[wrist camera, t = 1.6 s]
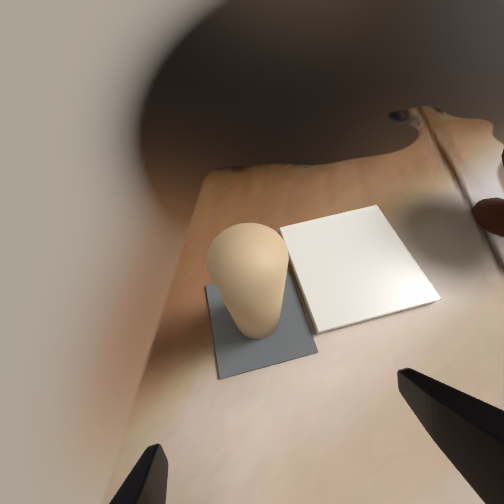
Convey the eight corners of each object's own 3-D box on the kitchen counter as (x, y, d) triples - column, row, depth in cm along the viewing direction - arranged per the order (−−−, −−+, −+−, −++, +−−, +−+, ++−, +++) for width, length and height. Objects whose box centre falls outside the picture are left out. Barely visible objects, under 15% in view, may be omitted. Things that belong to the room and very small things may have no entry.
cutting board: (434, 302, 23) (441, 298, 22) (316, 334, 22) (318, 331, 21) (373, 210, 29) (376, 204, 28) (279, 232, 28) (279, 227, 27)
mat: (317, 352, 21) (318, 351, 21) (220, 379, 20) (219, 379, 20) (286, 266, 26) (287, 265, 25) (206, 286, 25) (205, 285, 25)
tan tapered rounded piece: (285, 332, 22) (300, 282, 12) (239, 344, 22) (213, 304, 11) (272, 289, 24) (275, 215, 14) (231, 300, 24) (201, 232, 13)
